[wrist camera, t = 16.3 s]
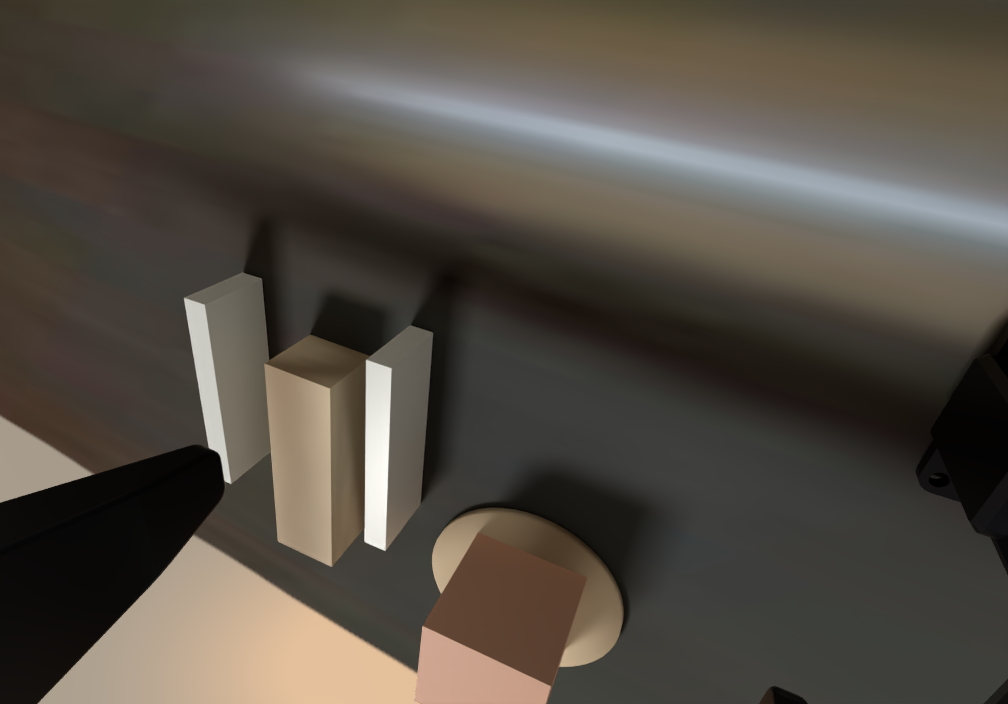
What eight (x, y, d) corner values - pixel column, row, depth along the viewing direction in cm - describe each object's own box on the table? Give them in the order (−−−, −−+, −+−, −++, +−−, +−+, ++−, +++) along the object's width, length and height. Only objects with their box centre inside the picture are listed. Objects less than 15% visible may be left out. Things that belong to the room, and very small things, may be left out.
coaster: (646, 557, 23) (645, 565, 23) (599, 686, 28) (597, 694, 27) (443, 479, 25) (439, 484, 25) (430, 609, 30) (426, 616, 30)
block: (587, 577, 24) (551, 686, 20) (564, 649, 27) (528, 759, 23) (477, 532, 25) (422, 625, 21) (466, 604, 28) (414, 701, 24)
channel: (433, 332, 22) (391, 368, 20) (420, 504, 27) (385, 550, 24) (242, 272, 24) (183, 297, 22) (260, 439, 29) (213, 476, 27)
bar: (374, 353, 24) (330, 388, 22) (368, 522, 29) (331, 567, 27) (314, 332, 25) (264, 363, 22) (318, 500, 30) (278, 541, 28)
